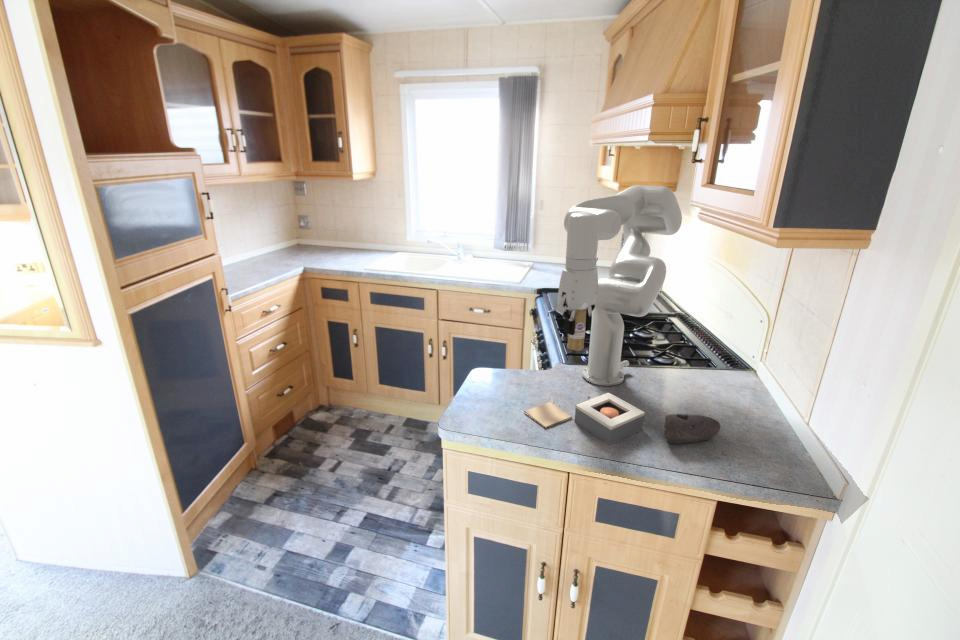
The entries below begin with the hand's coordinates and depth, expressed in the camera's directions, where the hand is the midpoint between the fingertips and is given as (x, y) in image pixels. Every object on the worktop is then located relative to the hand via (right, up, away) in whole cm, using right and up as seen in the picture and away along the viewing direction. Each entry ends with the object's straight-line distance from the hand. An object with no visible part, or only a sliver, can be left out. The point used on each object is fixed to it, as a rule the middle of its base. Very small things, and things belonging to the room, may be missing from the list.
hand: (576, 330), depth 121 cm
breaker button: (+8, -22, -3) cm, 24 cm away
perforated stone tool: (+26, -27, -8) cm, 38 cm away
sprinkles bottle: (0, -5, +2) cm, 5 cm away
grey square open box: (+8, -24, -3) cm, 26 cm away
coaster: (-7, -23, +2) cm, 24 cm away
